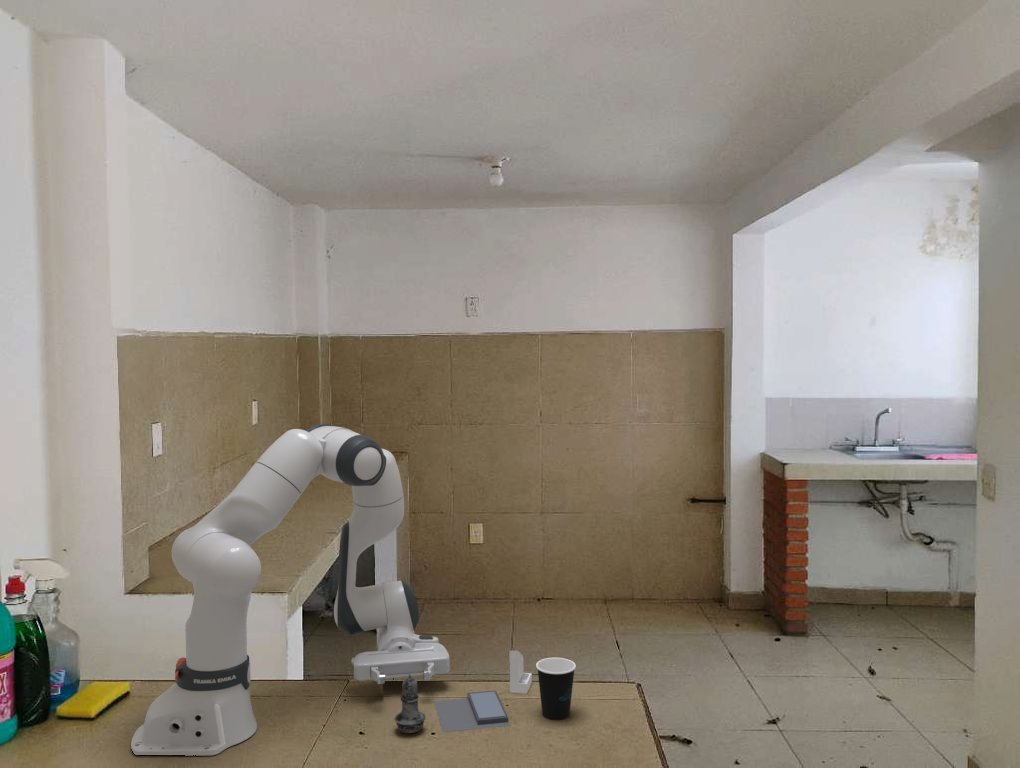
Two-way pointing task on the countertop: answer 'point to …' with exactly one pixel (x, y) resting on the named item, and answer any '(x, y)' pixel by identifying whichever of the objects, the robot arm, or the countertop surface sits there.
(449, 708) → the mat
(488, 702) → the phone
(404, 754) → the countertop surface
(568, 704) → the dixie cup
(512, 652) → the white angled block
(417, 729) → the stone finial ornament
